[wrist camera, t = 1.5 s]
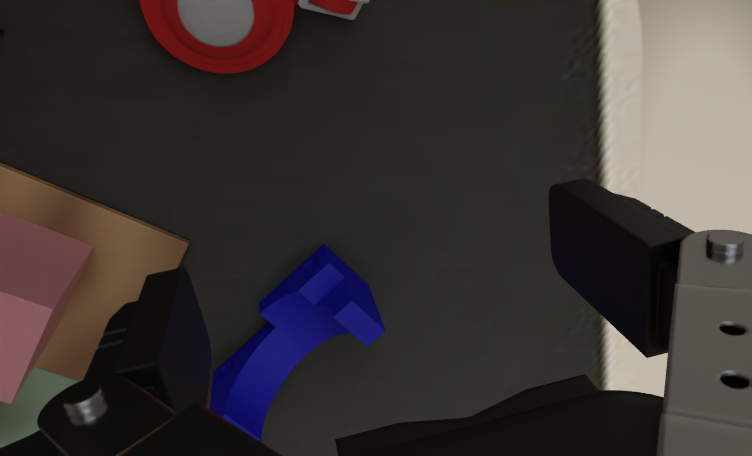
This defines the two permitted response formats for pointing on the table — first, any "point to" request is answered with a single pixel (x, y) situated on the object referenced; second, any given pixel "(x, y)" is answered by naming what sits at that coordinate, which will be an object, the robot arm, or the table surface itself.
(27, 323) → the pink block
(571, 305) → the table surface
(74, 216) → the multicoloured piece
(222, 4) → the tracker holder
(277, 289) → the blue curved block
